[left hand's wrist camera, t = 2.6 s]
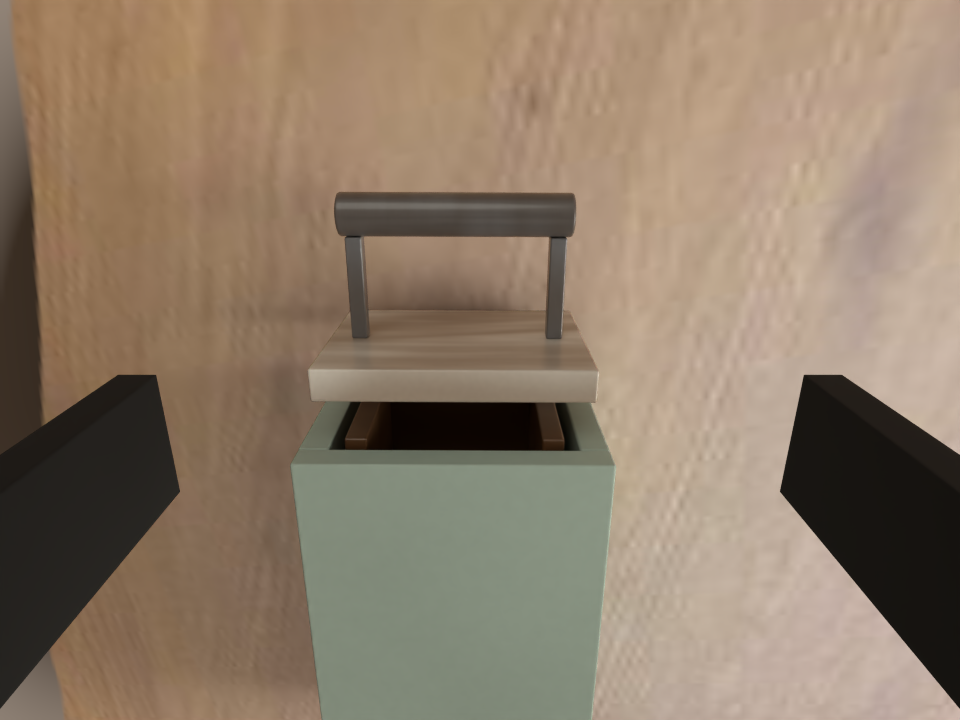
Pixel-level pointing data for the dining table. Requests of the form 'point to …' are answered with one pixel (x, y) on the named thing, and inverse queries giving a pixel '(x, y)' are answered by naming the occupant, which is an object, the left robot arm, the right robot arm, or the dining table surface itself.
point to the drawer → (455, 336)
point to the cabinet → (454, 574)
